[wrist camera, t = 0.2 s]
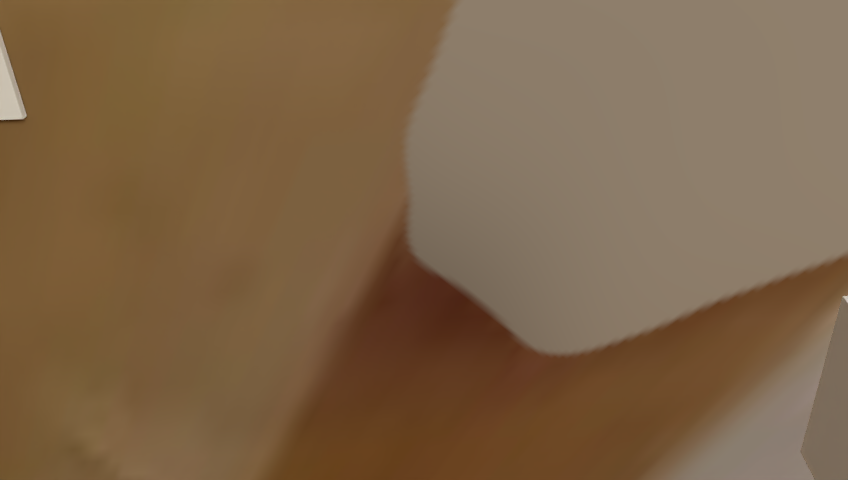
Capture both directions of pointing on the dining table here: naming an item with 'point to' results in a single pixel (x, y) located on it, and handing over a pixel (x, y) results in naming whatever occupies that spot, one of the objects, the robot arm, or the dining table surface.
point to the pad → (9, 89)
